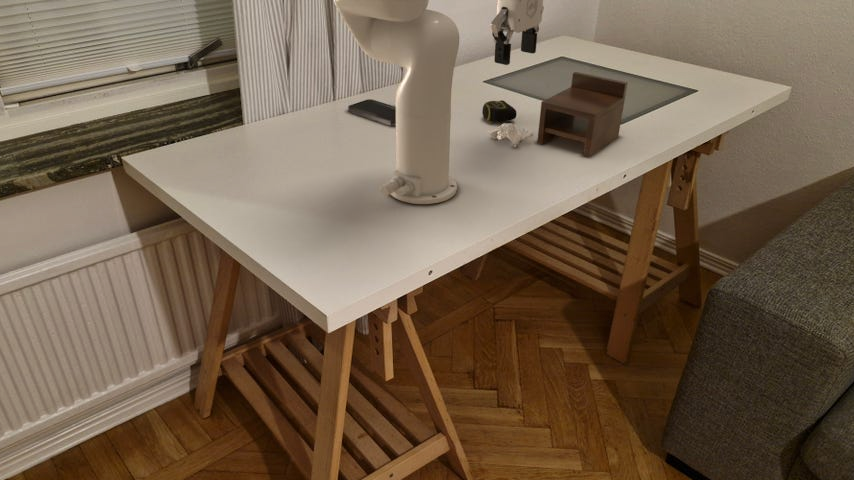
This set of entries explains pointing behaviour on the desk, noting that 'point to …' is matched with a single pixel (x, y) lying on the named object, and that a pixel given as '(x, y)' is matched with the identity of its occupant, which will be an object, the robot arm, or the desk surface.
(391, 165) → the desk surface
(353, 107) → the phone
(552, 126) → the shelf
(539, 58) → the desk surface
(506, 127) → the pelvis model
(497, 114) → the tape measure
